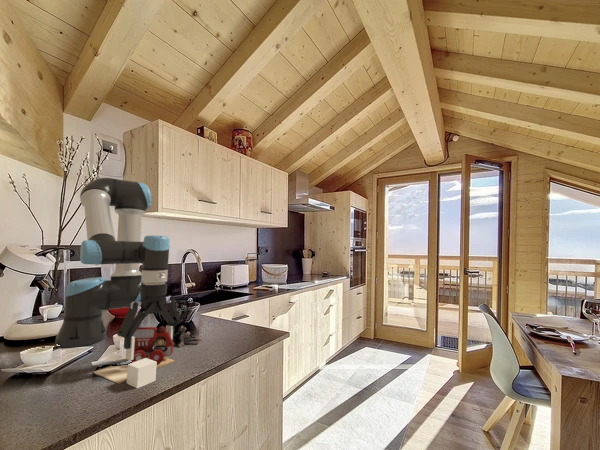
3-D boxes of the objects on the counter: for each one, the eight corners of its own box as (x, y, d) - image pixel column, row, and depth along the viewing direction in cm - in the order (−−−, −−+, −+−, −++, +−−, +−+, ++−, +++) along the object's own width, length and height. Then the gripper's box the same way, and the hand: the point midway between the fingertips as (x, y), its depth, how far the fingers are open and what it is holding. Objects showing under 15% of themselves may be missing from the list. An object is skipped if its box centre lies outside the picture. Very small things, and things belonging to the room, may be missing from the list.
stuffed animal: (195, 345, 99) (169, 325, 100) (179, 368, 99) (153, 348, 99) (207, 334, 111) (183, 317, 112) (192, 354, 110) (169, 337, 111)
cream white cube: (126, 383, 73) (127, 364, 73) (145, 376, 77) (146, 357, 78) (137, 388, 70) (138, 368, 71) (155, 380, 75) (156, 361, 75)
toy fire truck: (169, 363, 85) (171, 329, 86) (124, 366, 82) (127, 330, 83) (174, 355, 91) (176, 323, 92) (133, 357, 89) (135, 324, 90)
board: (93, 372, 79) (93, 371, 79) (149, 353, 93) (149, 352, 93) (118, 384, 72) (118, 383, 72) (175, 361, 87) (175, 360, 87)
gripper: (121, 288, 76) (115, 369, 74) (193, 280, 98) (190, 342, 96) (106, 286, 80) (101, 363, 78) (178, 278, 101) (175, 338, 99)
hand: (150, 352), depth 87 cm, fingers open, 12 cm apart
